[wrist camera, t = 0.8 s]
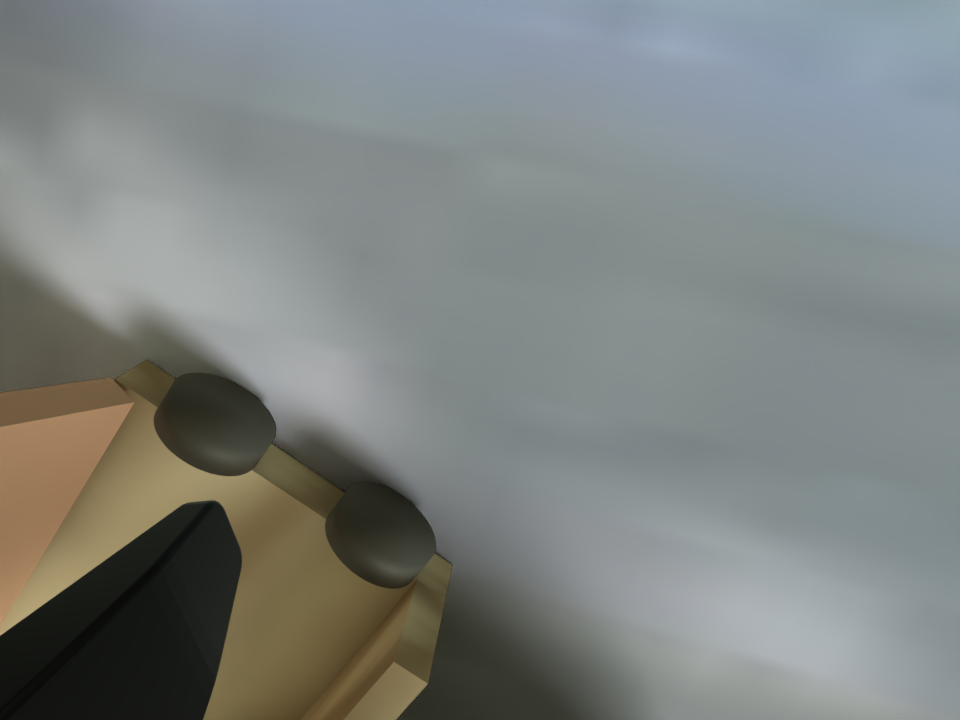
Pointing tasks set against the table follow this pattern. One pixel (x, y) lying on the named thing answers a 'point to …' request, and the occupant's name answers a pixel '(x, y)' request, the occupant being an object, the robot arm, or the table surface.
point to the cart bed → (266, 554)
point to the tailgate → (48, 465)
